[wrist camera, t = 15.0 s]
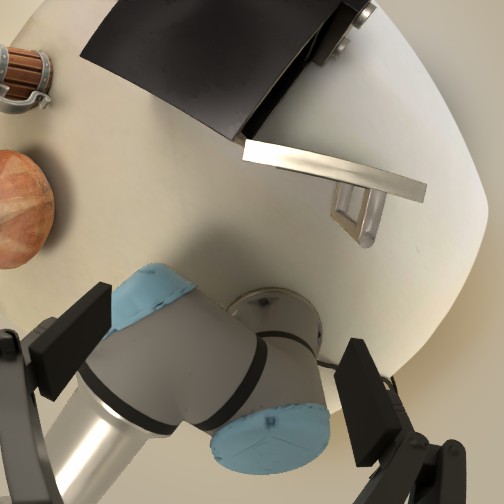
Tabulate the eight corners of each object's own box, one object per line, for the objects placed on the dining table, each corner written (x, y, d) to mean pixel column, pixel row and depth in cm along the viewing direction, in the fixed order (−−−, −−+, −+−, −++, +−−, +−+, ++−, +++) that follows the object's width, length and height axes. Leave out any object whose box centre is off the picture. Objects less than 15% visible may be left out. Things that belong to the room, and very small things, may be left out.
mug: (6, 92, 35) (-53, 87, 21) (38, 43, 32) (-19, 25, 18) (43, 140, 38) (-24, 143, 24) (80, 86, 35) (15, 70, 21)
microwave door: (351, 220, 40) (405, 265, 23) (244, 198, 40) (229, 231, 23) (362, 171, 38) (427, 184, 21) (254, 146, 38) (246, 138, 21)
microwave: (345, 46, 33) (393, -13, 16) (262, 158, 38) (259, 160, 21) (233, -16, 30) (215, -92, 13) (149, 89, 36) (78, 56, 19)
